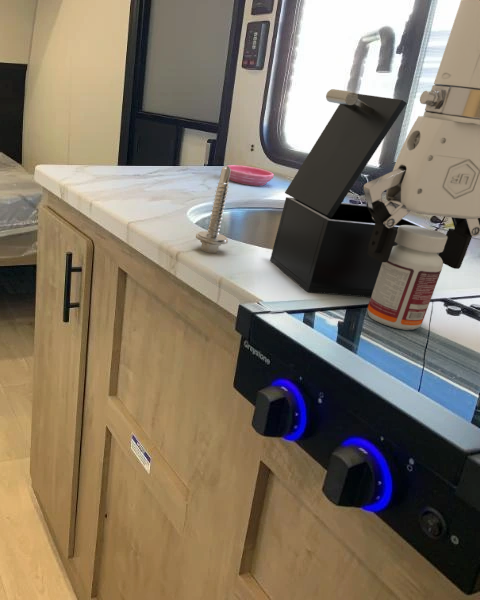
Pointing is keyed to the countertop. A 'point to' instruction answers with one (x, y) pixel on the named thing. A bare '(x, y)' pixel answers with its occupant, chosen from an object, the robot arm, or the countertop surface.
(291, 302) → the countertop surface
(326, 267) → the bin
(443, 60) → the robot arm
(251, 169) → the saucer
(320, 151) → the bin lid
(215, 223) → the screw
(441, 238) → the pill bottle
